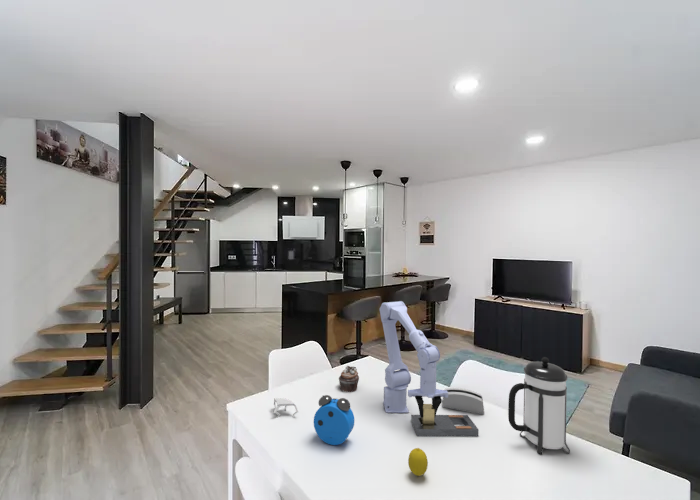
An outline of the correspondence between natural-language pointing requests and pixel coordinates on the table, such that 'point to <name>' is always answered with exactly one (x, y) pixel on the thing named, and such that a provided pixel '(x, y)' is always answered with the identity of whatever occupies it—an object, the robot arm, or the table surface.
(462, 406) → the grey rounded block
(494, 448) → the table surface
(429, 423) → the brass peg
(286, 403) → the miniature table
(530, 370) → the coffee press
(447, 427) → the rail plate
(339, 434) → the alarm clock
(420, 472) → the lemon
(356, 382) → the cupcake
